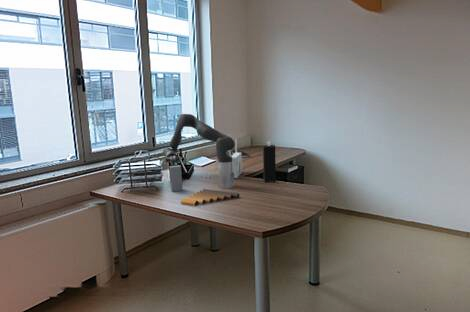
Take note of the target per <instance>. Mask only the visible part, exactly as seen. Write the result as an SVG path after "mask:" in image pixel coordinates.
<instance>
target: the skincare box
mask: <svg viewBox="0 0 470 312" xmlns="http://www.w3.org/2000/svg"><path fill="white" fill-rule="evenodd" d="M241 155H242V153H234V154H233V155H232V156H231V157H232V166H233V172H234V178H236V179H238V178H239V176H240V175H241V174H242V171H243V169H242V162H243V160H242V159H243V158H242V157H241Z"/></svg>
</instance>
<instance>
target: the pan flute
mask: <svg viewBox="0 0 470 312" xmlns="http://www.w3.org/2000/svg"><path fill="white" fill-rule="evenodd" d="M238 198H239V199H240V194H239V192H229V191H223V190H222V191H221V190H214V189H207V188H203V189H201V190H199V191H196V193H192V195H191V194H189V196H186V197H185V198H184V197H183V198H182V199H181V201H180V204H182V205H187V206H194V207H197V206H198V205H203V206H204V205H205V204H212V203H213V202H215V203H218V202H220V201H223V202H225V201H226V200H230V201H231V200H232V199H238Z"/></svg>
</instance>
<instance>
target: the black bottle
mask: <svg viewBox="0 0 470 312" xmlns="http://www.w3.org/2000/svg"><path fill="white" fill-rule="evenodd" d="M271 142H272V140H270V141H269V140H268V141H266V144H262V164H263V165H262V166H263V181H265V182H264V183H268V182H267V181H273V182H272V183H274V182H275V183H276V182H277V181H276V179H277V175H276V172H277V171H276V170H277V169H276V165H277V163H276V146H275V144H271Z"/></svg>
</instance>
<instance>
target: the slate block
mask: <svg viewBox="0 0 470 312" xmlns="http://www.w3.org/2000/svg"><path fill="white" fill-rule="evenodd" d="M182 175H183V174H182V166H181V165H170V166H169V177H170V190H171V192H179V191H183V176H182Z"/></svg>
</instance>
